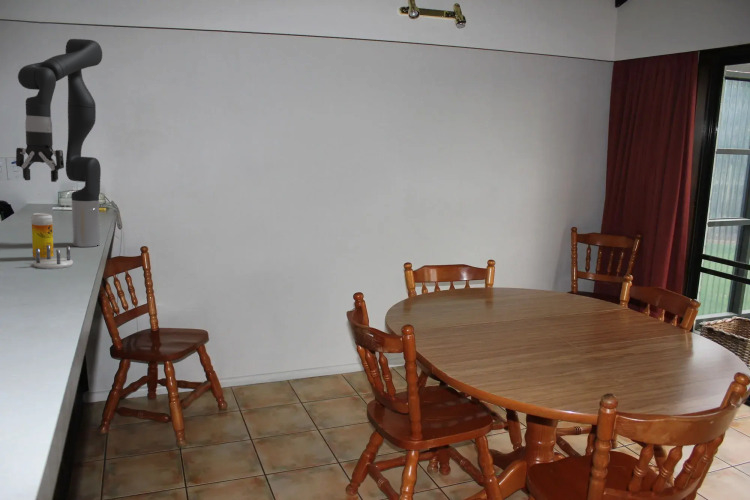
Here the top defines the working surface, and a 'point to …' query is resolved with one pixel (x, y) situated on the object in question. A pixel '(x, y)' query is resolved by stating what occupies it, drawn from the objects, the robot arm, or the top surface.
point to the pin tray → (53, 260)
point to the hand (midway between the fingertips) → (40, 181)
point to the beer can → (42, 234)
